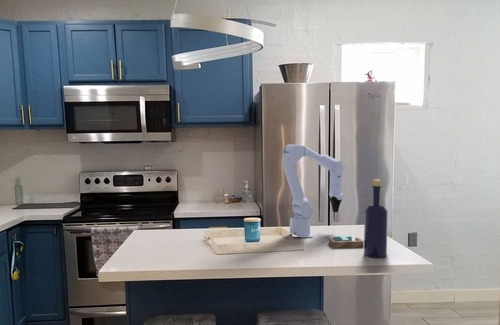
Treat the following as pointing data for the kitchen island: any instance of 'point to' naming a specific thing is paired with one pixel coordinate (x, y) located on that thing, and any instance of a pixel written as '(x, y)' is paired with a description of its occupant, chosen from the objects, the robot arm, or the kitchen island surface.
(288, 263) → the kitchen island surface
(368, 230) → the bottle
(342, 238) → the t block
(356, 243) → the wooden drawer handle
